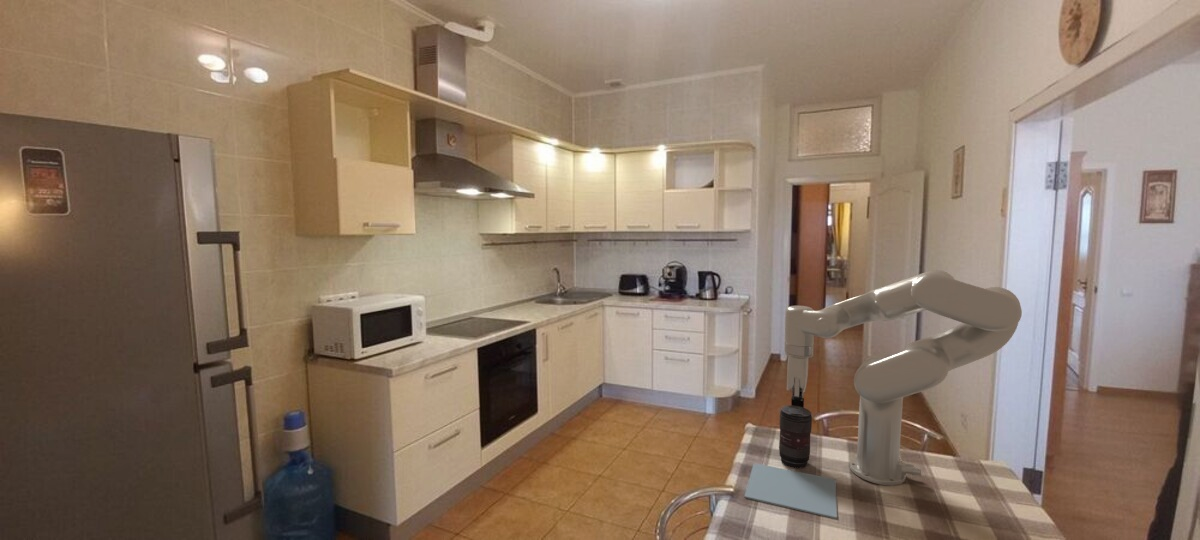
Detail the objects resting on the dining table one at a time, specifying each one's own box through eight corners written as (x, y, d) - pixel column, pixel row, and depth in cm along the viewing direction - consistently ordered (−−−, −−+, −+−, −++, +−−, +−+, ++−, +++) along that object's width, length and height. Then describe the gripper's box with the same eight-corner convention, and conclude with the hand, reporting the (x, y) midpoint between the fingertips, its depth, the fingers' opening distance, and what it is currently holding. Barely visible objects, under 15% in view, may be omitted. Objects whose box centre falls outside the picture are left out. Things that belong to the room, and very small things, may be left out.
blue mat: (835, 480, 120) (835, 479, 120) (836, 519, 105) (837, 517, 105) (753, 464, 129) (753, 463, 129) (744, 497, 113) (744, 496, 113)
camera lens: (813, 471, 125) (815, 417, 123) (781, 468, 126) (782, 415, 125) (806, 456, 133) (808, 405, 131) (776, 454, 134) (777, 403, 133)
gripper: (787, 342, 142) (785, 400, 144) (782, 355, 128) (780, 419, 130) (814, 344, 138) (812, 404, 140) (812, 358, 125) (810, 424, 127)
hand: (797, 411), depth 135 cm, fingers closed
